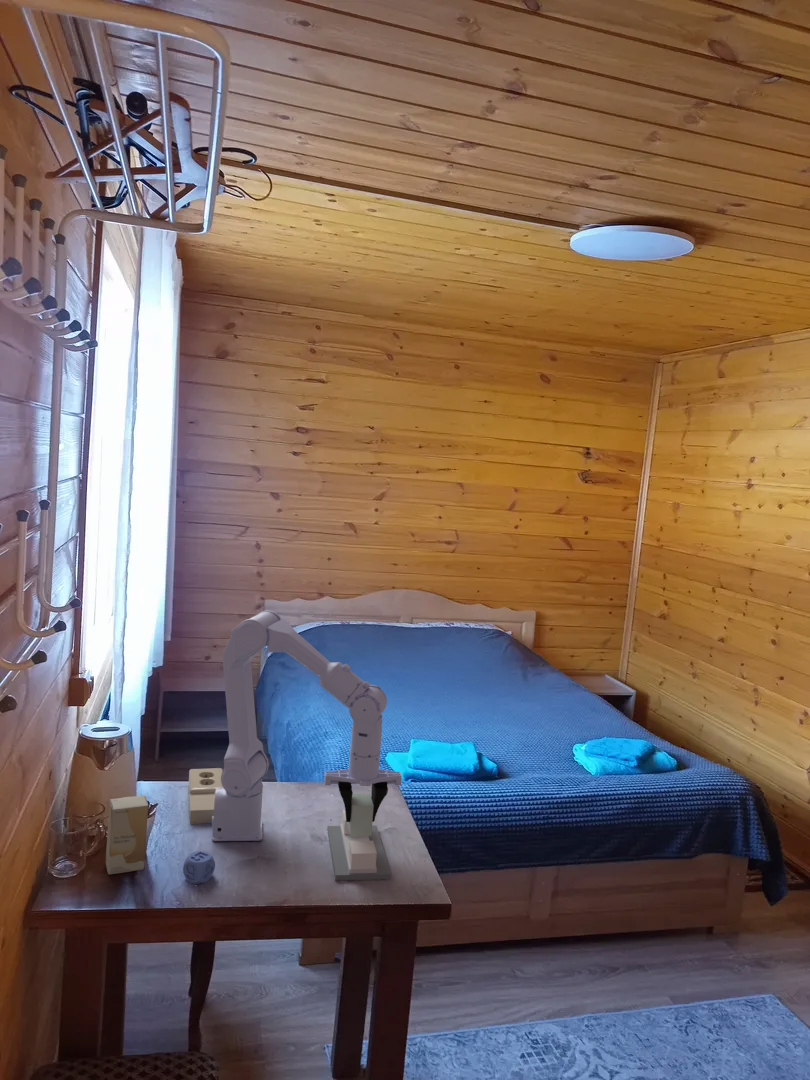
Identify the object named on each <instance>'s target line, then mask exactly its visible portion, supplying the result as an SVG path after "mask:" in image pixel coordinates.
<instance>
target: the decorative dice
mask: <svg viewBox="0 0 810 1080" xmlns="http://www.w3.org/2000/svg"><path fill="white" fill-rule="evenodd" d="M215 868H216V861H215V859H214V857H213V855H212V854H210V852H208V851H204V850H197V851H194V852H191V853H190V854H188V855H187V856H186V858H185V861H184V863H183V866H182V873H183V876H184V878H185V880H187V881H188V882H189V883H191V884H196V885H197V884H198V885H199V884H200V883H201V884H204V883H206V882H208V881H209V880H210V879H211V878H212V876H213V874H214V872H215Z"/></svg>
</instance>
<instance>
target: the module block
mask: <svg viewBox="0 0 810 1080" xmlns="http://www.w3.org/2000/svg"><path fill="white" fill-rule="evenodd" d="M373 807H374V805H373V802H372V799H371V793H353V794H352V801H351V819H350V822H347V824H348V828H349V833H350V836H371V832H372V826H373V822H372V820H373Z"/></svg>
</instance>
